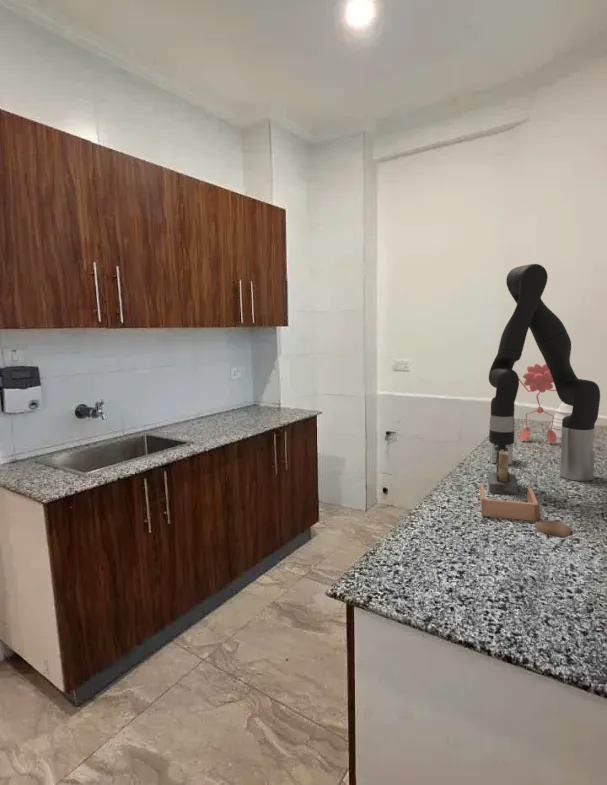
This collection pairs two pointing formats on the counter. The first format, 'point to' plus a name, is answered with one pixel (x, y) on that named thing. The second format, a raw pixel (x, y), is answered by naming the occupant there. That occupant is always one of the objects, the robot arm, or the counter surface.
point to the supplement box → (510, 452)
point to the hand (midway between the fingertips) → (500, 479)
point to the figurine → (539, 381)
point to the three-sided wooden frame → (510, 507)
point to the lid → (552, 528)
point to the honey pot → (560, 418)
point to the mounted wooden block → (503, 477)
